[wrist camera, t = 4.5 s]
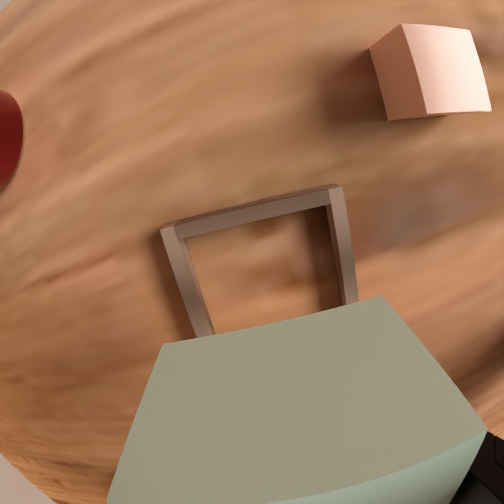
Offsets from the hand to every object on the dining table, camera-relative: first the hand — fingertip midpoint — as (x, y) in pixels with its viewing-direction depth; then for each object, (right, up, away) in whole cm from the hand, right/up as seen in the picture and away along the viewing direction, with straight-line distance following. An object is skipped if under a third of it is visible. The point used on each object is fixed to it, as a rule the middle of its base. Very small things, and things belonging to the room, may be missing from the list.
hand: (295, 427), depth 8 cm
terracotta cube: (+8, +15, +7) cm, 18 cm away
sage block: (0, 0, +1) cm, 1 cm away
